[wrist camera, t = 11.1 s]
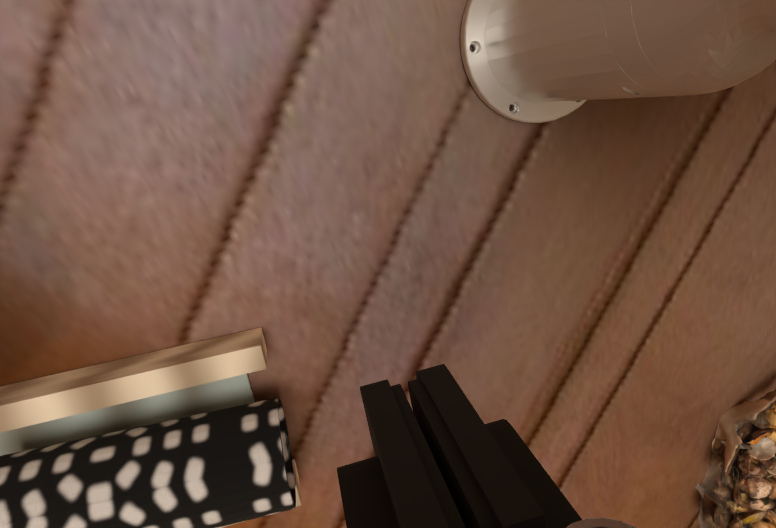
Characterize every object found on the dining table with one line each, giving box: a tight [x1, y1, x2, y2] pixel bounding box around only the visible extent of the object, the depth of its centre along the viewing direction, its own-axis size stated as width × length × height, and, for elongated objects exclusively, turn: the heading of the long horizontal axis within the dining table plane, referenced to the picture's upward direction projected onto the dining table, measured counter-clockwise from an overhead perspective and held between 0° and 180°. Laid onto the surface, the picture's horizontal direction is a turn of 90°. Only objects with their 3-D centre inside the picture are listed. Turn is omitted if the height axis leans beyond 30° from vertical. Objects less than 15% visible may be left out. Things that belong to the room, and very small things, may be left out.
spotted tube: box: [0, 398, 296, 528], centre depth 39 cm, size 8×8×20 cm
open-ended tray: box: [0, 327, 301, 528], centre depth 40 cm, size 26×15×5 cm, turn 99°
